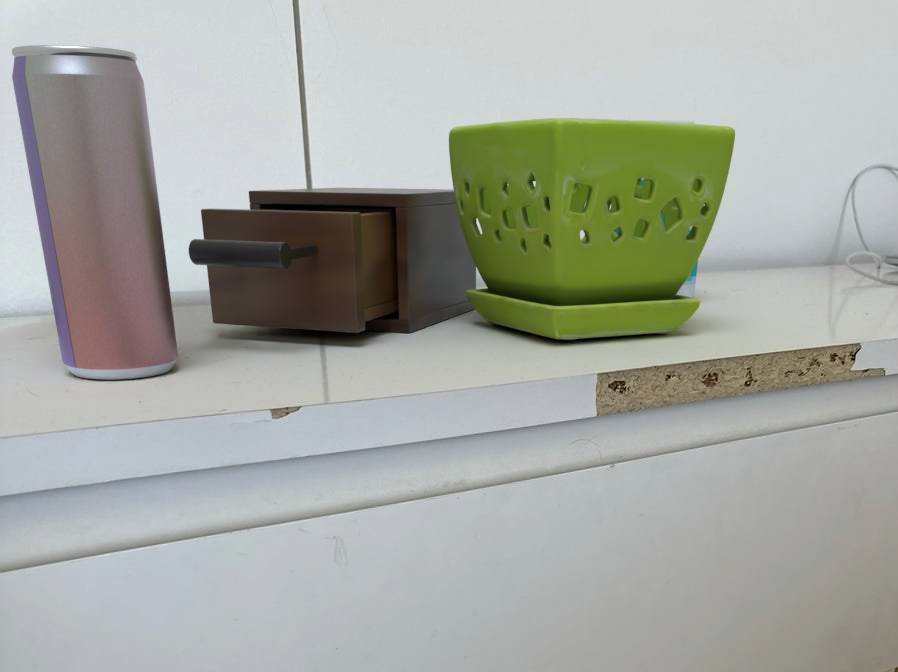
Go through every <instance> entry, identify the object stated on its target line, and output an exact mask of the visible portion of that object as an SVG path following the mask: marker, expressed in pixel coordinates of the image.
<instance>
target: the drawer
mask: <svg viewBox="0 0 898 672" xmlns="http://www.w3.org/2000/svg"><path fill="white" fill-rule="evenodd" d="M200 215H201V225H202V233H203V238H193V239H192V240H191V241H190V242H189V245H188V256H189V259H190V261H191V262H192V263H193V265H195V266H206V271H207V282H208V289H209V299H210V309H211V318H212V323H213V324H217V325H230V326H231V325H232V326H233V325H234V326H247V327H260V328H261V327H263V328H278V329H292V330H305V331H307V330H308V331H323V332H337V333H338V332H340V333H354V334H358V333H360V332H364V331H366V330H365V321H368V320H372V319H375V318H378V317H381V316H385V315H388V314H391V313H394V312H397V311H399V306H398V269H397V232H396V208H358V207H316V206H305V207H291V208H276V209H262V210H250V208H248V209H247V208H246V209H245V208H202V209H200Z"/></svg>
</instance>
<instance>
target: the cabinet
mask: <svg viewBox="0 0 898 672" xmlns="http://www.w3.org/2000/svg"><path fill="white" fill-rule="evenodd" d="M248 199H249V200H248V202H249V209H250V210H262V209H276V208H291V207H305V206H316V207H358V208H396V232H397V269H398V306H399V311H397V312H394V313H391V314H388V315H385V316H381V317H378V318H375V319H372V320H368V321H365V330H364V331H370V332H371V331H372V332H373V331H374V332H387V333H403V334H411V333H413V332H416V331H419V330H421V329H424V328H427V327H429V326H433V325H435V324H437V323H440V322H443V321H445V320H446V321H447V320H449V319H452V318H454V317H457V316H459V315H462V314H465V313H467V312H470V311H473V310H476V309H475V308H474V307H473V306H472V304H471V303H470V302H469V300H468V298H467V296H466V291H467V290H472V289H477V267H476V265H475V263H474V261H473V258H472V256H471V253H470V251H469V248H468V245H467V242H466V239H465V236H464V233H463V230H462V226H461V222H460V219H459V215H458V210H457V206H456V201H455V195H454V189H450V188H449V189H448V188H447V189H446V188H444V189H443V188H391V187H390V188H388V187H387V188H385V187H317V188H315V187H313V188H291V189H289V188H287V189H286V188H285V189H265V190H264V189H262V190H260V189H259V190H249V191H248Z"/></svg>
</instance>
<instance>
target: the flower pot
mask: <svg viewBox="0 0 898 672" xmlns="http://www.w3.org/2000/svg"><path fill="white" fill-rule="evenodd" d="M735 139H736V130H735V128H733V127H731V126H728V125H714V124H713V125H712V124H701V123H694V124H690V123H669V122H652V121H637V120H629V119H627V120H626V119H607V118H579V117H578V118H577V117H552V118H548V117H547V118H533V119H532V118H531V119H521V120H510V121H497V122H488V123H480V124H478V123H477V124H469V125H460V126H453V127H452V128H451V129H450V130H449V133H448V153H449V165H450V173H451V181H452V186H453V187H452V188H453V189H452V190H454V195H455V201H456V206H457V210H458V215H459V219H460V222H461V226H462V230H463V233H464V236H465V239H466V242H467V245H468V248H469V251H470V253H471V256H472V258H473V261H474V263H475V265H476V270H477V271H478V273H479V276H480V277H481V279H482V281H483V282H484V284H485V286H486V288H476V289H472V290H467V291H466V296H467V298H468V300H469V302H470V303H471V304H472V306H473V307H474V308H475V309H474V310H476V312H477V313H478V314H479V315H480V316H481V317H482V318H483V319H485V320H486V321H488V322H489V324H491V325H499V326H503V327H506V328H510V329H514V330H518V331H521V332H525V333H529V334H533V335H536V336H537V335H538V336H542V337H545V338H549V339H555V340H562V341H576V340H578V339H579V340H580V339H593V338H594V339H595V338H608V337H609V338H610V337H623V336H635V335H649V334H650V335H651V334H656V335H657V334H658V335H666V334H668V333H669V332H672V331H675V330H676V329H678V328H680V327H681V326H683V325H684V324H685V323H686V322H688V320H689V319H690V318H692V316H693V315H694V314H695V313H696V312H697V311H698V309H699V307H700V305H701V301H700V299H699V298H697V297H694V296H693V297H687V296H682V295H676V294H677V292H678V291H679V289H680V288H681V286H682V285H683V284H684V282H685V281H686V279H687V278H688V276H689V274H690V273H691V271H692V269H693V267H694V266H695V264H696V262H697V260H698V261H699V259H700V256H701V254H702V252H703V250H704V248H705V245H706V243H707V241H708V239H709V237H710V234H711V233H712V232H711V231H712V229H713V227H714V224H715V221H716V218H717V216H718V212H719V210H720V207H721V203H722V200H723V197H724V193H725V189H726V184H727V181H728V178H729V173H730V168H731V163H732V162H731V161H732V157H733V153H734V147H735V146H734V145H735ZM642 178H644V183H643V185H642V186H641V179H642ZM534 182H535V184H534ZM636 197H637V198H636ZM639 198H640V199H639ZM611 203H612V207H611ZM703 205H704V206H703ZM677 207H678V209H677ZM661 212H662V215H663V220H664V225H663V222H662V218H661ZM477 221H478V222H477ZM477 223H479V226H478V224H477ZM691 226H693V227H692V229H691V231H690V233H689V234H688V235H687V232H688V230H689V228H690V227H691ZM479 227H480V229H481V231H480V229H479ZM618 228H619V235H618V234H617V233H616V231H617V229H618ZM581 231H583V233H584V236H583V238H581Z"/></svg>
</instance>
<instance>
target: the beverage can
mask: <svg viewBox="0 0 898 672" xmlns="http://www.w3.org/2000/svg"><path fill="white" fill-rule="evenodd" d="M11 55H12V56H13V57H14V58H13V66H12V67H13V68H12V75H11V80H12V84H13V90H14V96H15V101H16V107H17V113H18V118H19V124H20V130H21V134H22V142H23V146H24V152H25V157H26V163H27V164H26V165H27V169H28V175H29V180H30V187H31V192H32V199H33V203H34V209H35V213H36V214H35V215H36V221H37V227H38V231H39V237H40V243H41V248H42V255H43V260H44V265H45V271H46V278H47V282H48V287H49V288H48V289H49V294H50V299H51V305H52V310H53V317H54V321H55V328H56V332H57V339H58V345H59V349H60V356H61V361H62V363H63V364H64V365H65V366H66V368H67V370H68V371H69V372H70V373H71V374H72V375H74V376H75V377H77V378H78V377H79V378H82V379H86V380H87V379H89V380H100V381H105V380H106V381H115V380H133V379H143V378H149V377H155V376H160V375H164V374H166V373H168V372H170V371H171V370H172V369H173V368H174V367H175V364H176V362H177V359H178V356H179V353H178V351H179V350H178V344H177V343H178V342H177V336H176V327H175V319H174V311H173V304H172V296H171V288H170V280H169V273H168V264H167V257H166V248H165V239H164V233H163V232H164V231H163V224H162V216H161V208H160V202H159V193H158V184H157V176H156V168H155V161H154V155H153V154H154V152H153V145H152V137H151V129H150V121H149V112H148V106H147V105H148V104H147V98H146V89H145V82H144V79H143V76H142V74H141V71H140V69H139V68H138V65H137V60H138V58H137V54H136V53H135V52H132V51H129V50H125V49H118V48H110V47H99V46H85V45H66V44H65V45H61V44H57V45H56V44H39V45H38V44H37V45H33V44H32V45H21V46H15V47H12V49H11Z"/></svg>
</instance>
